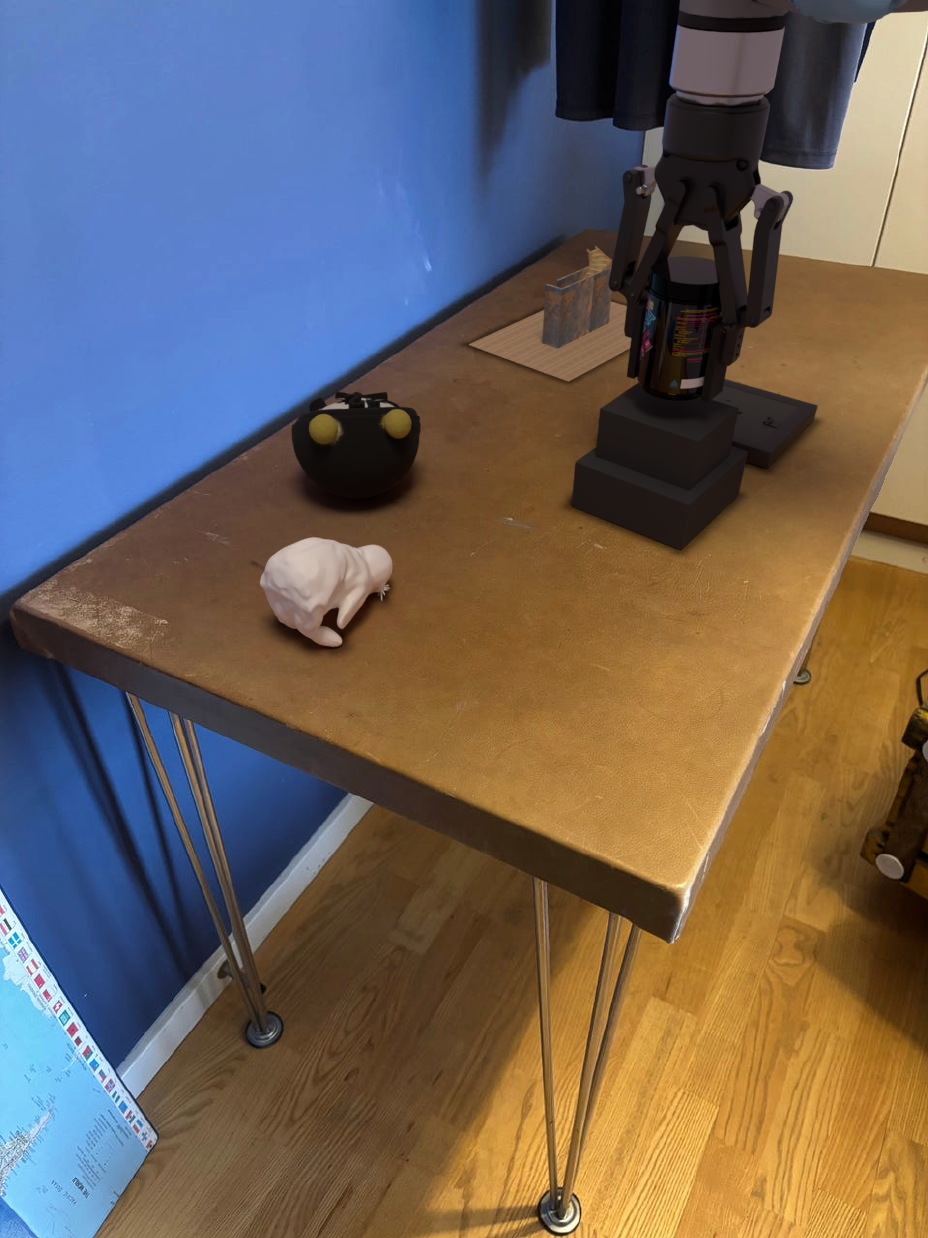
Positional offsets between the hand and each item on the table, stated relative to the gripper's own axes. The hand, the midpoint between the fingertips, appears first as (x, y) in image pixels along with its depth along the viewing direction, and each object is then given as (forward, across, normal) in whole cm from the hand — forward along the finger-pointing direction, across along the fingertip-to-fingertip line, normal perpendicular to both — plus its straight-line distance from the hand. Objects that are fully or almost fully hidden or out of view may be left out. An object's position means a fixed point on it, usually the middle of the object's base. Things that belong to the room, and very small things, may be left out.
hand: (673, 383), depth 82 cm
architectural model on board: (+13, +29, -30) cm, 44 cm away
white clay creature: (+13, +12, +32) cm, 36 cm away
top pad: (+7, 0, 0) cm, 7 cm away
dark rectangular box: (+12, 0, 0) cm, 12 cm away
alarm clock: (+13, +25, +16) cm, 32 cm away
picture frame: (+13, +3, -19) cm, 23 cm away
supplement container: (+1, 0, 0) cm, 1 cm away
